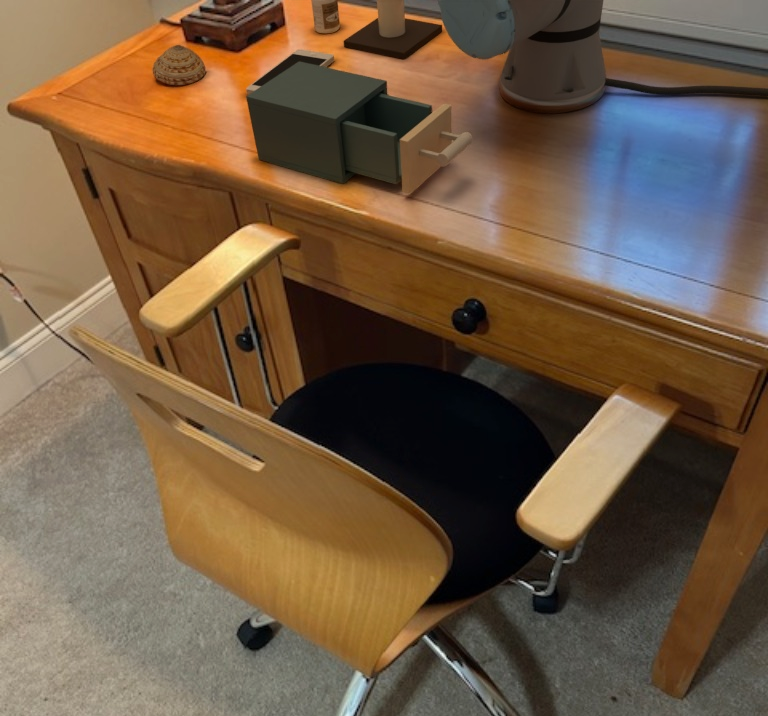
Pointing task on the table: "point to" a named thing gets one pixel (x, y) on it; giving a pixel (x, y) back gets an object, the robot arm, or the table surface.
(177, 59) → the seashell
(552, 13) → the robot arm
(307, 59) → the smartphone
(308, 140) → the cabinet
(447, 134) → the drawer
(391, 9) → the spice pot
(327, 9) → the pill bottle
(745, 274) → the table surface
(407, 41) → the coaster
